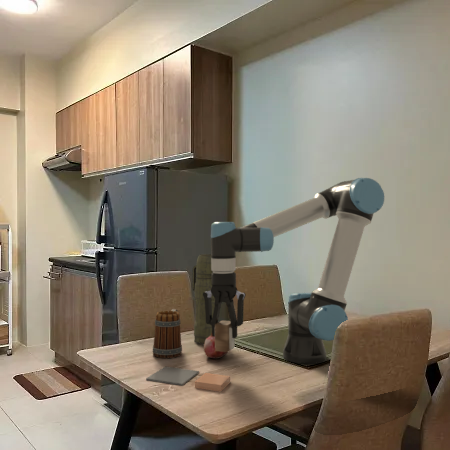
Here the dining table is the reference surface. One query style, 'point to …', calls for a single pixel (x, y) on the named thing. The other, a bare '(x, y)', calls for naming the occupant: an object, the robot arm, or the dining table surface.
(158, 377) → the coaster
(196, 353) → the dining table surface
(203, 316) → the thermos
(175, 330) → the mug
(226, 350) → the push block
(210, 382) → the tile
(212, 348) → the fruit
